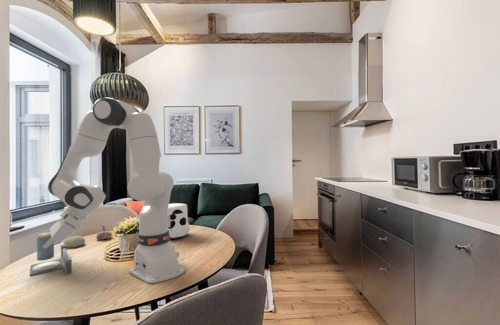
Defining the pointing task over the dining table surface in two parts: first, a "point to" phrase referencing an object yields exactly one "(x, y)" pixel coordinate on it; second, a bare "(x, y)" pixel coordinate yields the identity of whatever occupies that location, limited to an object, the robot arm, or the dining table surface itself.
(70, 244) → the sea urchin shell
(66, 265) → the dark grey flat bar
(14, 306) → the dining table surface
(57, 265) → the resting mat
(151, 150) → the robot arm
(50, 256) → the ceramic jar
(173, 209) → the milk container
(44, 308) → the dining table surface
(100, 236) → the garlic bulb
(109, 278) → the dining table surface
